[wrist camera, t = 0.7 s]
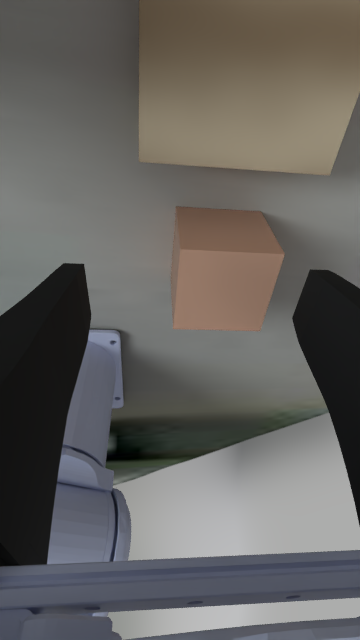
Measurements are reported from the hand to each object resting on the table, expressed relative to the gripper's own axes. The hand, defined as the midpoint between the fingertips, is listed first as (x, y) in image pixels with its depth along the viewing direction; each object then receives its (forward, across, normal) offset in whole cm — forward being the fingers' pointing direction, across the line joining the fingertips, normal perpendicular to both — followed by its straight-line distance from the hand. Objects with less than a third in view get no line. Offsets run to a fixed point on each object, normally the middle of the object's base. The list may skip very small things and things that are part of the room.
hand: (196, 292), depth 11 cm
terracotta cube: (+10, -2, +4) cm, 11 cm away
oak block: (+10, -2, -6) cm, 12 cm away
